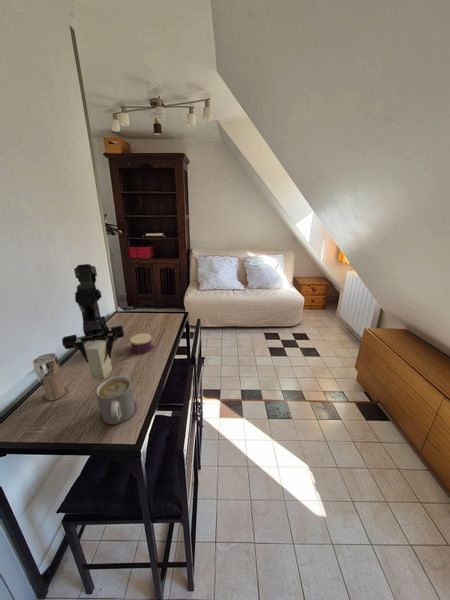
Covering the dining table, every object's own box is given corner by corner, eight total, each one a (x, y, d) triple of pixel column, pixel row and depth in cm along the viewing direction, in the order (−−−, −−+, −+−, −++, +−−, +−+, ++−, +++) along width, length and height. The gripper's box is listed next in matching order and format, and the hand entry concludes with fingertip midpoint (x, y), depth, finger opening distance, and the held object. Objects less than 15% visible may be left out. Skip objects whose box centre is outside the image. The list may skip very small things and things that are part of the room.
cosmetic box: (104, 380, 85) (97, 349, 80) (91, 380, 85) (84, 349, 80) (112, 368, 90) (107, 339, 86) (100, 368, 91) (94, 339, 86)
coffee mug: (107, 402, 85) (102, 378, 81) (137, 399, 86) (133, 375, 83) (93, 435, 72) (86, 408, 69) (129, 431, 74) (124, 404, 70)
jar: (127, 350, 116) (125, 340, 114) (142, 341, 123) (140, 331, 121) (142, 355, 111) (140, 345, 110) (156, 346, 119) (155, 335, 117)
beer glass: (51, 388, 92) (40, 353, 87) (70, 387, 92) (61, 352, 87) (39, 402, 85) (27, 365, 80) (60, 400, 86) (49, 363, 81)
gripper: (55, 315, 78) (61, 363, 73) (118, 304, 86) (128, 346, 81) (63, 327, 88) (68, 370, 83) (119, 316, 96) (128, 355, 91)
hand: (99, 360), depth 84 cm, fingers closed on cosmetic box, 6 cm apart
